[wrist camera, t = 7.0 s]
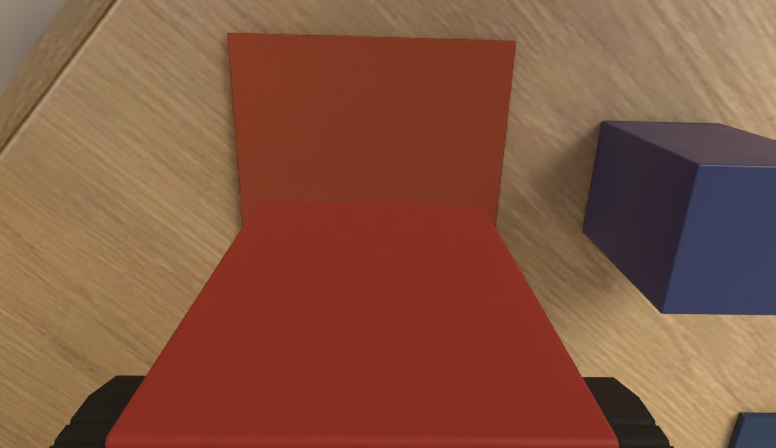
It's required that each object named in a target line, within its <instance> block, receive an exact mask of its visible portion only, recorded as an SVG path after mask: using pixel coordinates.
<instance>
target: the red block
mask: <svg viewBox="0 0 776 448" xmlns="http://www.w3.org/2000/svg"><path fill="white" fill-rule="evenodd" d="M105 447H106V448H619V442H618V439H617V437H616V435H615V433H614V431H613V430H612V428H611V426H610V424H609V423H608V421H607V419H606V418H605V416H604V414H603V412H602V411H601V409H600V407H599V405H598V404H597V402H596V400H595V398H594V397H593V395H592V393H591V392H590V390H589V388H588V386H587V385H586V383H585V381H584V379H583V378H582V376H581V374H580V373H579V371H578V369H577V367H576V366H575V364H574V362H573V360H572V359H571V357H570V355H569V353H568V352H567V350H566V348H565V347H564V345H563V343H562V341H561V340H560V338H559V336H558V334H557V333H556V331H555V329H554V327H553V326H552V324H551V322H550V321H549V319H548V317H547V315H546V314H545V312H544V310H543V308H542V307H541V305H540V303H539V302H538V300H537V298H536V296H535V295H534V293H533V291H532V289H531V288H530V286H529V284H528V282H527V281H526V279H525V277H524V276H523V274H522V272H521V270H520V269H519V267H518V265H517V263H516V262H515V260H514V258H513V257H512V255H511V253H510V251H509V250H508V248H507V246H506V244H505V243H504V241H503V239H502V237H501V236H500V234H499V232H498V231H497V229H496V227H495V225H494V224H493V222H492V220H491V218H490V217H489V215H488V213H487V212H486V210H485V208H484V207H483V206H457V205H398V204H339V203H280V202H260V203H258V204H257V206H256V207H255V209H254V210H253V212H252V213H251V215H250V217H249V218H248V220H247V221H246V223H245V224H244V226H243V227H242V229H241V230H240V232H239V233H238V235H237V237H236V238H235V240H234V241H233V243H232V244H231V246H230V247H229V249H228V250H227V252H226V253H225V255H224V257H223V258H222V260H221V261H220V263H219V264H218V266H217V267H216V269H215V270H214V272H213V274H212V275H211V277H210V278H209V280H208V281H207V283H206V284H205V286H204V287H203V289H202V290H201V292H200V294H199V295H198V297H197V298H196V300H195V301H194V303H193V304H192V306H191V307H190V309H189V310H188V312H187V314H186V315H185V317H184V318H183V320H182V321H181V323H180V324H179V326H178V327H177V329H176V330H175V332H174V334H173V335H172V337H171V338H170V340H169V341H168V343H167V344H166V346H165V347H164V349H163V350H162V352H161V354H160V355H159V357H158V358H157V360H156V361H155V363H154V364H153V366H152V367H151V369H150V370H149V372H148V374H147V375H146V377H145V378H144V380H143V381H142V383H141V384H140V386H139V387H138V389H137V390H136V392H135V394H134V395H133V397H132V398H131V400H130V401H129V403H128V404H127V406H126V407H125V409H124V410H123V412H122V414H121V415H120V417H119V418H118V420H117V421H116V423H115V424H114V426H113V427H112V429H111V430H110V432H109V434H108V435H107V438H106V442H105Z"/></svg>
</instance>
